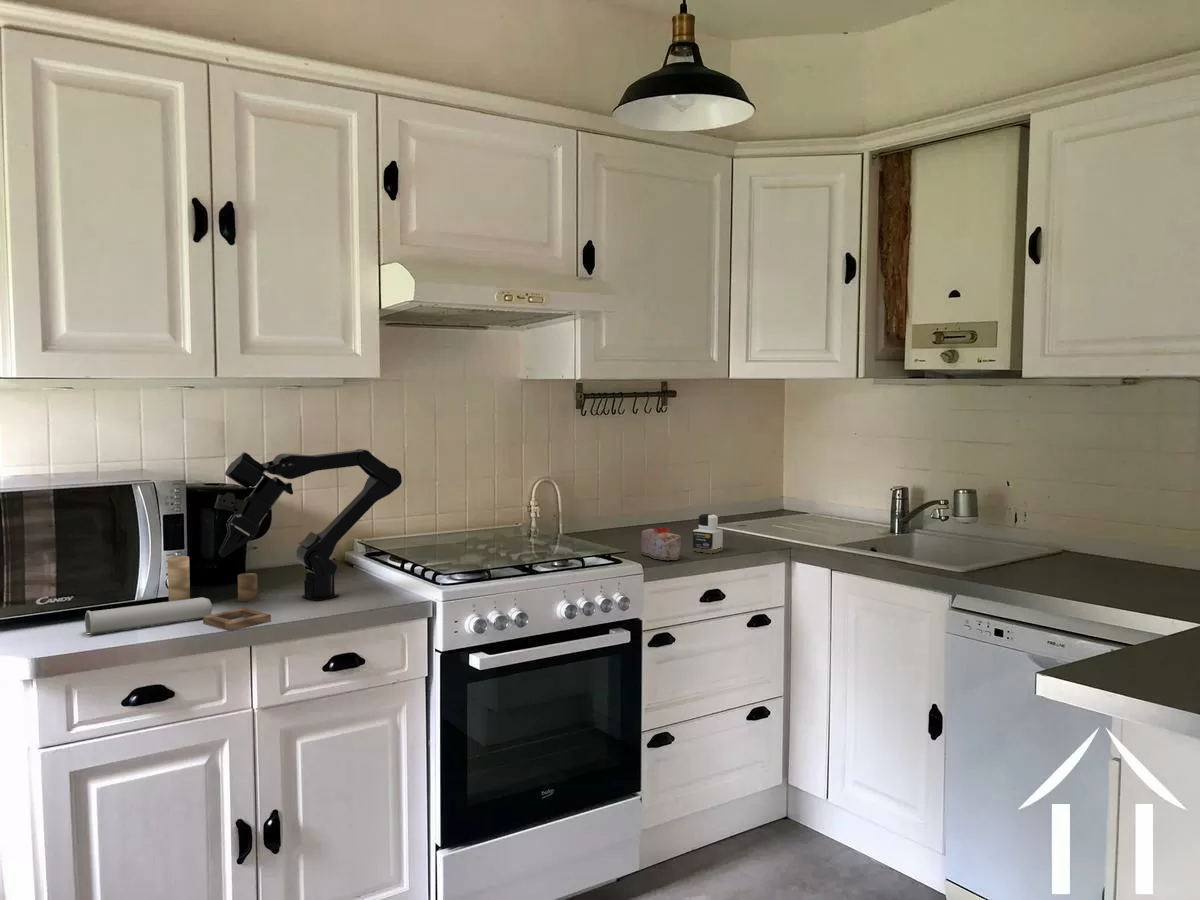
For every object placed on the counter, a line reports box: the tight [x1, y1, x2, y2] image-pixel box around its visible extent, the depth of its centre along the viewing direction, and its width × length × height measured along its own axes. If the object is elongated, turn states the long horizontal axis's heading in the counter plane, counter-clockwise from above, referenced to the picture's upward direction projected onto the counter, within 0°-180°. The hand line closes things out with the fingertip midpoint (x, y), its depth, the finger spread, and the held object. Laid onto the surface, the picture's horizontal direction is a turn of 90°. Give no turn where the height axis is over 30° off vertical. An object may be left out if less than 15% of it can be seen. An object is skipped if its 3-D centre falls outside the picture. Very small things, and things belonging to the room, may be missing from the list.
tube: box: [84, 597, 213, 636], centre depth 199 cm, size 5×5×25 cm
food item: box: [640, 526, 682, 559], centre depth 281 cm, size 14×8×10 cm, turn 34°
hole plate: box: [202, 607, 272, 632], centre depth 202 cm, size 10×10×2 cm
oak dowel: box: [167, 555, 191, 602], centre depth 207 cm, size 4×4×13 cm
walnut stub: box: [237, 572, 259, 602], centre depth 223 cm, size 4×4×6 cm
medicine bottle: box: [692, 513, 724, 550], centre depth 293 cm, size 7×7×12 cm
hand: (220, 555), depth 212 cm, fingers open, 9 cm apart
